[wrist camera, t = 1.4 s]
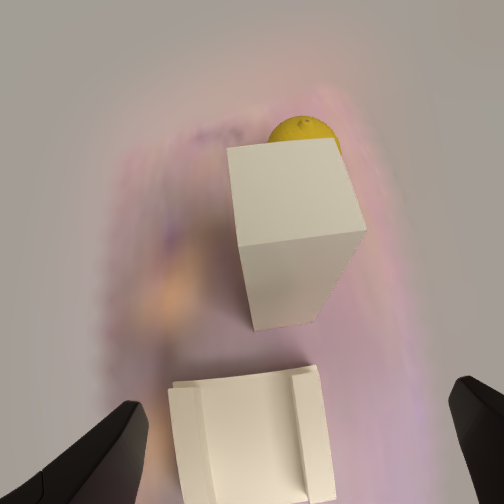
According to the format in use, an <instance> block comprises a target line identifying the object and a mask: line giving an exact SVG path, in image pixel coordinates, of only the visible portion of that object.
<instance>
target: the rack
mask: <svg viewBox="0 0 504 504" xmlns="http://www.w3.org/2000/svg"><path fill="white" fill-rule="evenodd" d="M168 397H169V406H170V415H171V424H172V431H173V439H174V446H175V453H176V460H177V466H178V472H179V478H180V484H181V490H182V495H183V501H184V504H291V503H297V502H303V501H309V503H310V504H315V503H320V502H325V501H330V500H334V499H336V491H335V482H334V474H333V466H332V458H331V451H330V443H329V436H328V429H327V422H326V415H325V408H324V402H323V395H322V389H321V383H320V376H319V371H317V367H316V365H311V366H305V367H299V368H293V369H287V370H281V371H274V372H267V373H260V374H252V375H244V376H235V377H226V378H215V379H204V380H191V381H176V382H173V388H168Z"/></svg>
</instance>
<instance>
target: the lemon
mask: <svg viewBox="0 0 504 504" xmlns="http://www.w3.org/2000/svg"><path fill="white" fill-rule="evenodd" d="M319 138H334V140H335V142H336V145H337V147H338V150H339V152H340V155H341V148H340V144H339V141H338V138H337V137H336V135H335V133H334V132H333V130H332V129H331V128H330V127H329V126H328V125H327V124H325V123H324V122H322V121H321V120H319V119H316V118H314V117H309V116H297V117H293V118H289V119H287V120H285V121H284V122H282V123H280V124H279V125H278V126H277V127H276V128H275V129H274V130H273V132H272V134H271V136H270V138H269V140H268V142H267V143H272V142H282V141H293V140H305V139H319Z"/></svg>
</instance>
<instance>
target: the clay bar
mask: <svg viewBox="0 0 504 504" xmlns="http://www.w3.org/2000/svg"><path fill="white" fill-rule="evenodd" d="M227 157H228V166H229V174H230V183H231V192H232V200H233V209H234V217H235V225H236V234H237V242H238V249H239V254H240V260H241V265H242V270H243V275H244V281H245V286H246V291H247V296H248V302H249V307H250V312H251V317H252V322H253V327H254V331H261V330H268V329H275V328H282V327H288V326H295V325H301V324H307V323H313V321H314V319H315V318H316V316H317V315H318V313H319V311H320V310H321V308H322V307H323V305H324V303H325V302H326V300H327V299H328V297H329V295H330V294H331V292H332V290H333V289H334V287H335V285H336V284H337V282H338V280H339V279H340V277H341V275H342V274H343V272H344V270H345V268H346V267H347V265H348V263H349V261H350V260H351V258H352V256H353V254H354V253H355V251H356V249H357V247H358V246H359V244H360V242H361V240H362V238H363V237H364V235H365V233H366V231H367V228H366V225H365V222H364V219H363V216H362V213H361V210H360V207H359V204H358V201H357V198H356V195H355V192H354V189H353V187H352V184H351V181H350V178H349V176H348V173H347V170H346V168H345V165H344V162H343V160H342V157H341V155H340V152H339V150H338V147H337V145H336V142H335V140H334V138H319V139H305V140H293V141H282V142H272V143H263V144H254V145H246V146H238V147H230V148H227Z"/></svg>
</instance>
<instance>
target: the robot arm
mask: <svg viewBox="0 0 504 504" xmlns="http://www.w3.org/2000/svg"><path fill="white" fill-rule="evenodd" d="M448 402H449V407H450V411H451V414H452V418H453V421H454V425H455V429H456V433H457V437H458V440H459V444H460V447H461V450H462V453H463V455H464V458H465V461H466V464H467V467H468V470H469V473H470V475H471V479H472V482H473V485H474V488H475V491H476V495H477V498H478V501H479V504H504V395H503V394H501V393H500V392H498V391H496V390H494V389H493V388H491V387H489V386H487V385H486V384H484V383H482V382H480V381H479V380H477V379H475V378H473V377H471V376H464V377H460V378H458V379H457V380H456V382H455V384H454V387H453V389H452V391H451V393H450V396H449V400H448ZM148 428H149V423H148V419H147V417H146V414H145V412H144V409H143V406H142V404H141V403H140V402H138V401H130V400H127V401H124V402H123V403H122V404H121V405H120V406H118V407H117V408H116V409H115V410H114V411H113V412H111V413H110V414H109V415H108V416H107V417H105V418H104V419H103V420H102V421H101V422H99V423H98V424H97V425H96V426H95V427H93V428H92V429H91V430H90V431H89V432H87V433H86V434H85V435H84V436H83V437H81V438H80V439H79V440H78V441H77V442H75V443H74V444H73V445H72V446H71V447H69V448H68V449H67V450H66V451H64V452H63V453H62V454H61V455H59V456H58V457H57V458H56V459H55V460H53V461H52V462H51V463H50V464H48V465H47V466H46V467H45V468H43V470H42V471H39V472H38V473H37V474H36V475H34V476H33V477H32V478H31V479H29V480H28V481H27V482H25V483H24V484H22V485H21V486H20V487H18V488H17V489H15V490H13V491H12V492H10V493H9V494H7V495H6V496H4V497H2V498H1V499H0V504H135V500H136V496H137V492H138V488H139V484H140V480H141V476H142V471H143V465H144V457H145V449H146V442H147V435H148Z"/></svg>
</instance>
